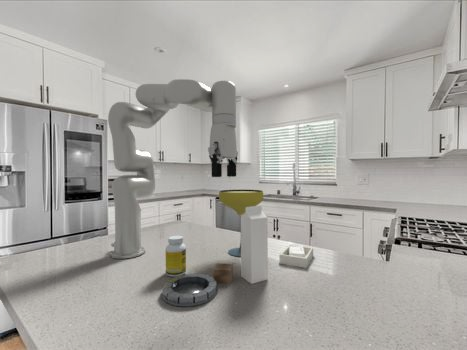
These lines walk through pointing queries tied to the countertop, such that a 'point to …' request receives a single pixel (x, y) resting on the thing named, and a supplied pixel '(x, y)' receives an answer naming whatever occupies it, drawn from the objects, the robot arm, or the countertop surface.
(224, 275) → the walnut block
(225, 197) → the cocktail glass
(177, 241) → the pill bottle
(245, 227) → the milk
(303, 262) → the soap dish
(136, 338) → the countertop surface
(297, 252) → the soap
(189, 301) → the collar
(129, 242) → the robot arm
